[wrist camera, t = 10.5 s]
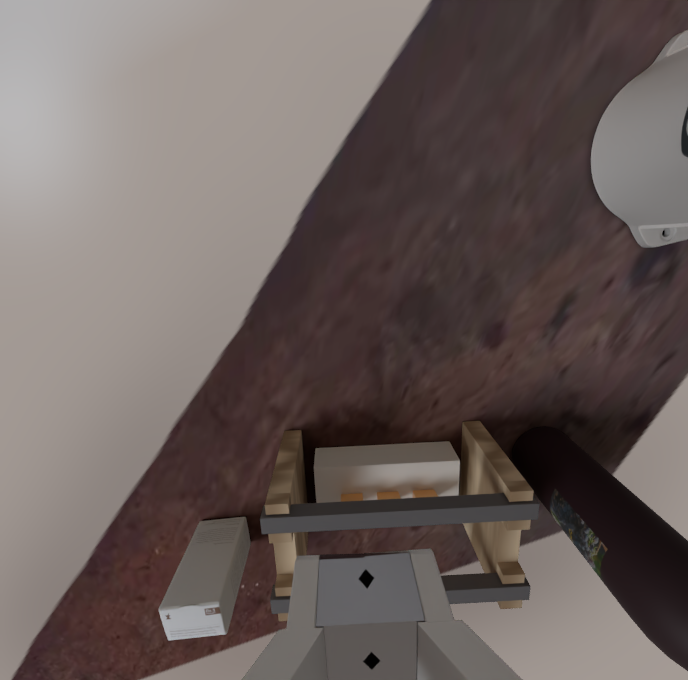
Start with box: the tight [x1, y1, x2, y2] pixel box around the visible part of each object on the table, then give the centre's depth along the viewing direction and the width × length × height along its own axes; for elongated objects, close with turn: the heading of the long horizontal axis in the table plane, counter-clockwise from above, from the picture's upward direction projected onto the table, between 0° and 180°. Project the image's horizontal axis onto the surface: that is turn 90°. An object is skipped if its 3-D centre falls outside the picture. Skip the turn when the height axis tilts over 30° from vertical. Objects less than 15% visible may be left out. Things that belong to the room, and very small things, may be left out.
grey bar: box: [270, 573, 530, 614], centre depth 36 cm, size 24×2×2 cm, turn 93°
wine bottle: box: [512, 427, 688, 671], centre depth 31 cm, size 7×7×30 cm
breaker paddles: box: [341, 489, 438, 502], centre depth 40 cm, size 10×1×3 cm, turn 93°
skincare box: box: [159, 517, 251, 640], centre depth 42 cm, size 6×4×12 cm
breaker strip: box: [314, 441, 460, 503], centre depth 44 cm, size 16×8×4 cm, turn 93°
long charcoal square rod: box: [260, 493, 539, 534], centre depth 33 cm, size 24×2×2 cm, turn 93°
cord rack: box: [265, 421, 534, 621], centre depth 40 cm, size 23×13×13 cm, turn 93°
